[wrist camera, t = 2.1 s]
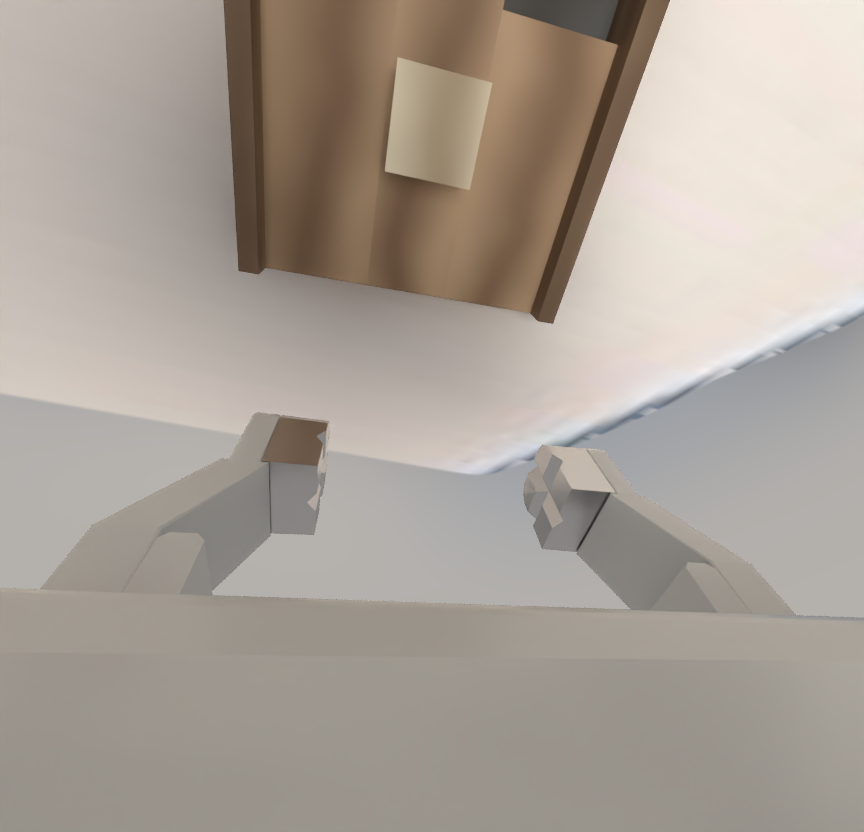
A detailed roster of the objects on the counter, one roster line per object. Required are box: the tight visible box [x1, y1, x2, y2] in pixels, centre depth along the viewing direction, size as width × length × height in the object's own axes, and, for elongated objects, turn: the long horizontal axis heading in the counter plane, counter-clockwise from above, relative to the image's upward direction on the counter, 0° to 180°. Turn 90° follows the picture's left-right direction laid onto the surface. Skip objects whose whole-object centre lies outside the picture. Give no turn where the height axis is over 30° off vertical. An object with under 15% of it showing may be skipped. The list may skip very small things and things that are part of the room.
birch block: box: [385, 57, 492, 190], centre depth 19 cm, size 4×4×3 cm
